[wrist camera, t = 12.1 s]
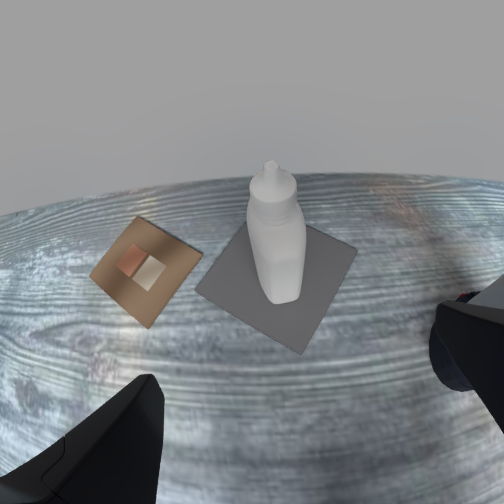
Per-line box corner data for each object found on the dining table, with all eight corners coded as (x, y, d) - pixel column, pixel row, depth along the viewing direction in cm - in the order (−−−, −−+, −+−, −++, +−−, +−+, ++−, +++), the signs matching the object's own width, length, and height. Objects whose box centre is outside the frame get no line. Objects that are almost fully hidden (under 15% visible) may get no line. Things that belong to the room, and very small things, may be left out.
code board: (202, 256, 25) (201, 254, 25) (148, 329, 23) (146, 328, 22) (138, 217, 28) (136, 215, 28) (90, 277, 26) (88, 276, 25)
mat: (356, 252, 24) (357, 250, 24) (300, 354, 20) (301, 354, 20) (259, 206, 27) (259, 204, 27) (195, 291, 24) (194, 290, 24)
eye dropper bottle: (241, 296, 23) (204, 201, 12) (264, 237, 25) (248, 124, 15) (294, 311, 22) (302, 223, 11) (313, 250, 24) (328, 137, 14)
